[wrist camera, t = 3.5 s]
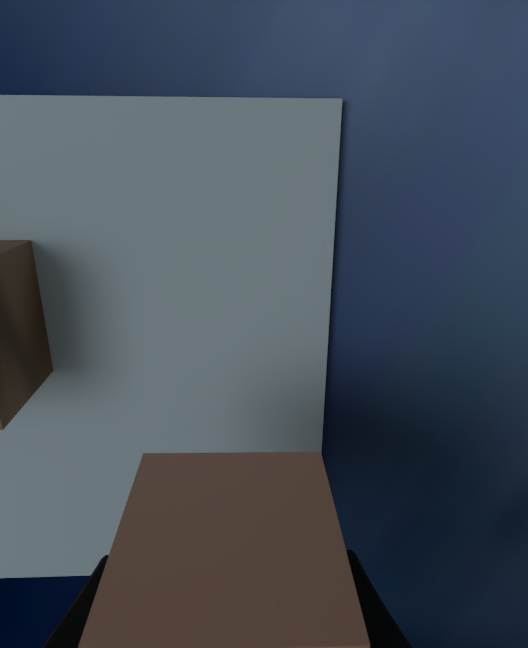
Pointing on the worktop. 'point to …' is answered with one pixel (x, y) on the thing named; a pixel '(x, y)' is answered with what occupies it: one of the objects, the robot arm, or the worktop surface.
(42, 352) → the walnut block
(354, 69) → the worktop surface
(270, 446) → the mat
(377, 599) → the robot arm
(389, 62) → the worktop surface
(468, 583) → the worktop surface
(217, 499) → the terracotta block
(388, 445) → the worktop surface
